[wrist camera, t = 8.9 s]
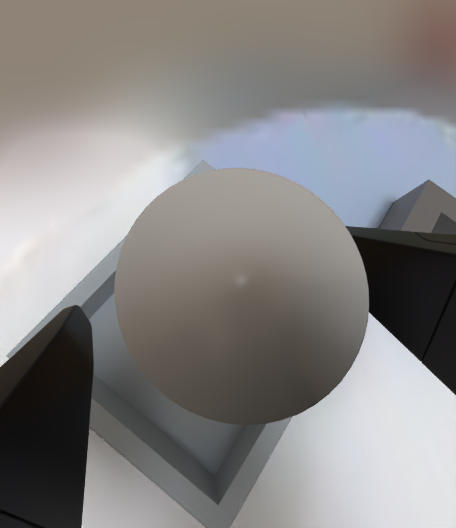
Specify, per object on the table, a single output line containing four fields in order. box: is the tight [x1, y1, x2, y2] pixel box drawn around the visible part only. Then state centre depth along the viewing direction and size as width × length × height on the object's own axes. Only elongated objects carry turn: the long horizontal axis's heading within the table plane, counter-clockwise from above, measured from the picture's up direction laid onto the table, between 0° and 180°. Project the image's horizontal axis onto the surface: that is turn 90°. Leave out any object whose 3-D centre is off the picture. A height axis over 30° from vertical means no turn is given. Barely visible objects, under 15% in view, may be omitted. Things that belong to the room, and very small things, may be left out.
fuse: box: [114, 168, 369, 425], centre depth 10 cm, size 4×4×13 cm
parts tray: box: [7, 160, 292, 528], centre depth 16 cm, size 16×14×4 cm
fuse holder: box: [378, 180, 456, 234], centre depth 19 cm, size 10×10×4 cm
